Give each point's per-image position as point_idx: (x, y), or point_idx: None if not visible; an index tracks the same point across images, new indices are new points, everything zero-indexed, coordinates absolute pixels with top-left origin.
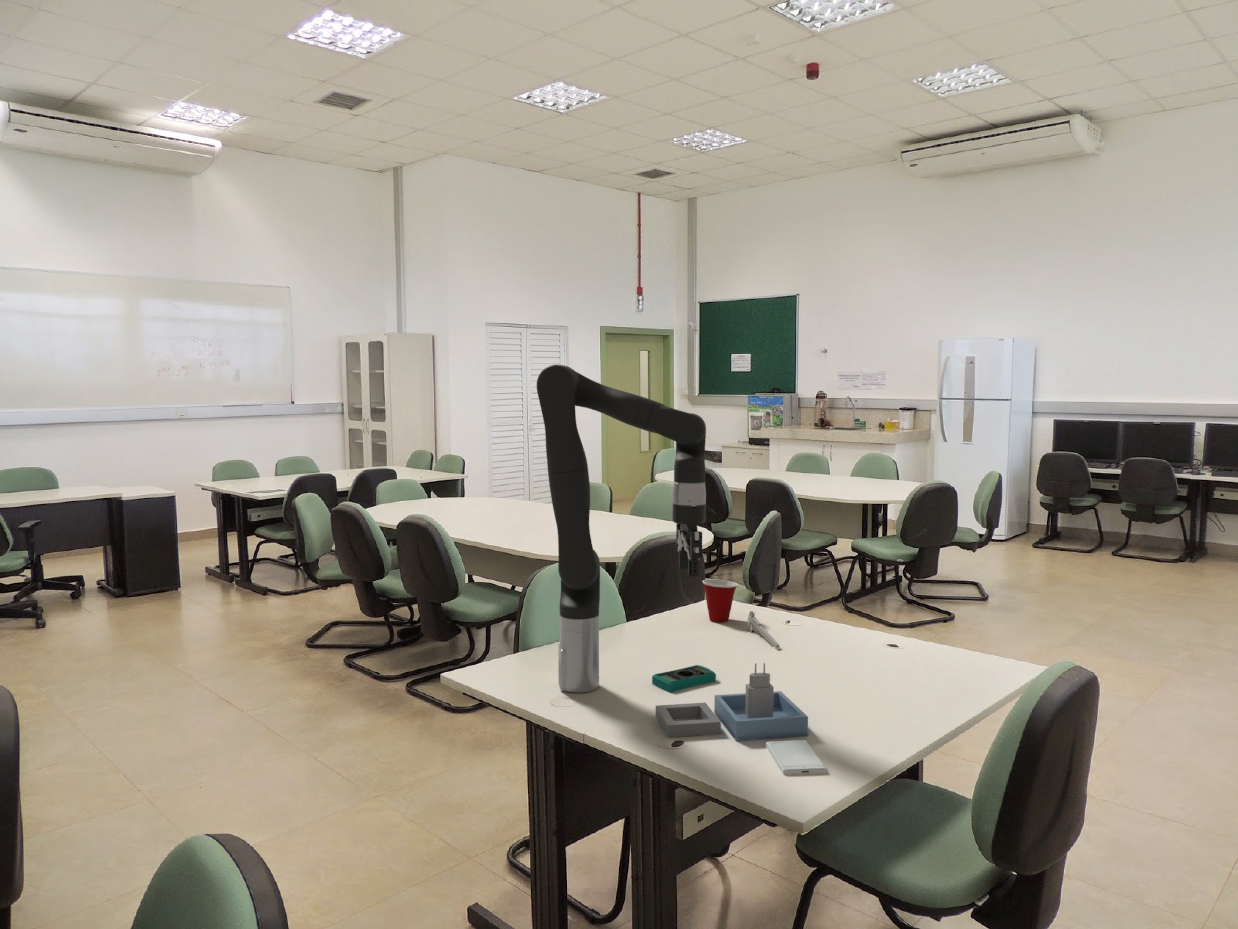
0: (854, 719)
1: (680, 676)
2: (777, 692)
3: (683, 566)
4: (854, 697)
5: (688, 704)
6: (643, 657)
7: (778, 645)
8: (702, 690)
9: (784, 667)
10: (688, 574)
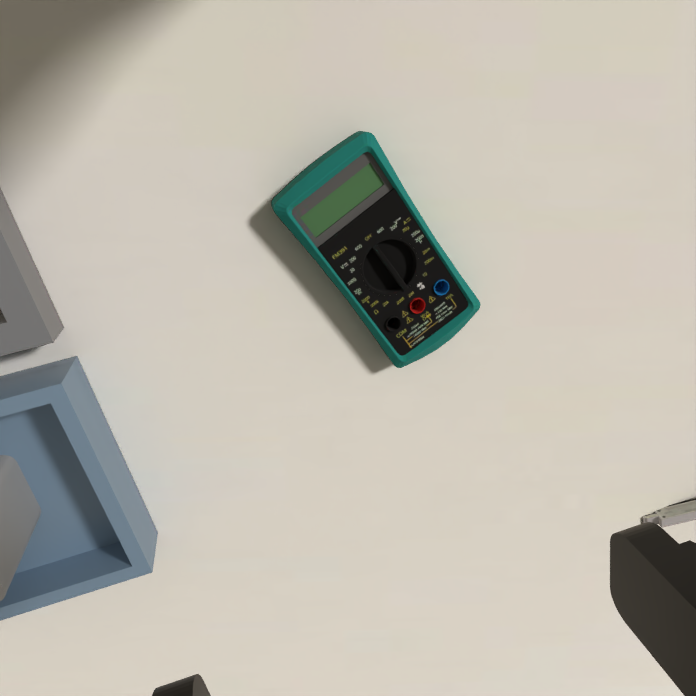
0: (114, 682)
1: (357, 248)
2: (136, 564)
3: (631, 580)
4: (276, 677)
5: (13, 281)
6: (656, 97)
7: (661, 524)
8: (300, 316)
9: (504, 534)
10: (174, 692)
